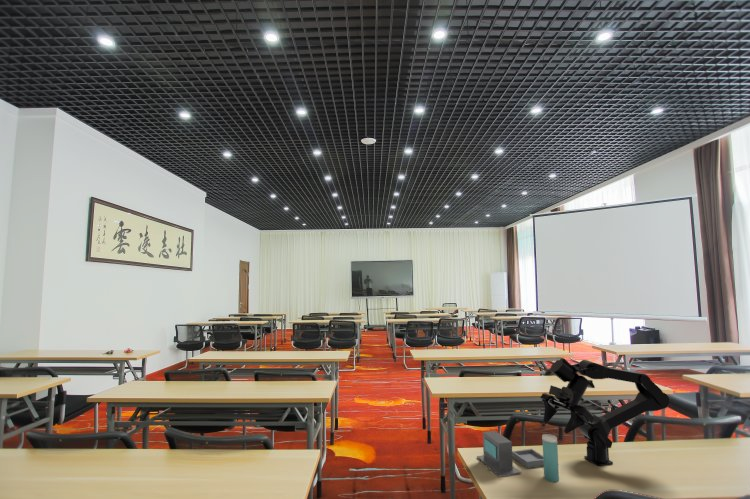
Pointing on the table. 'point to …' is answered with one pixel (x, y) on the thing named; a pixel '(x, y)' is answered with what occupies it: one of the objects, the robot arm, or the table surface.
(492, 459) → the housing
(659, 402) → the robot arm
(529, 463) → the holder tray
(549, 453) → the canister
